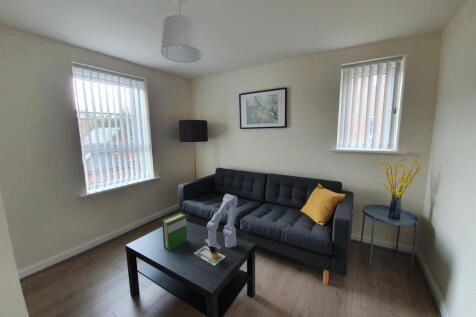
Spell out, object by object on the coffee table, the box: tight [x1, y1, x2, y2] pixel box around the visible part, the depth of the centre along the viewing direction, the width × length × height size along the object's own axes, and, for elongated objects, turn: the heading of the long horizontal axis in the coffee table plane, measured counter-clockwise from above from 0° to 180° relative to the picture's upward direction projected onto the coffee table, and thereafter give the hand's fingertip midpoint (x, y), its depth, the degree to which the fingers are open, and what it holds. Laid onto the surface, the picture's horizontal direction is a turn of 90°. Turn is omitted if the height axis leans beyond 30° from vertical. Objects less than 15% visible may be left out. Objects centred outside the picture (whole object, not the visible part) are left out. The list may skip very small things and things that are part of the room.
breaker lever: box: [212, 249, 219, 260], centre depth 140 cm, size 4×3×5 cm
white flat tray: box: [193, 245, 226, 267], centre depth 145 cm, size 12×22×2 cm, turn 53°
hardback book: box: [161, 212, 188, 252], centre depth 159 cm, size 18×7×24 cm, turn 141°
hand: (212, 254), depth 142 cm, fingers closed
